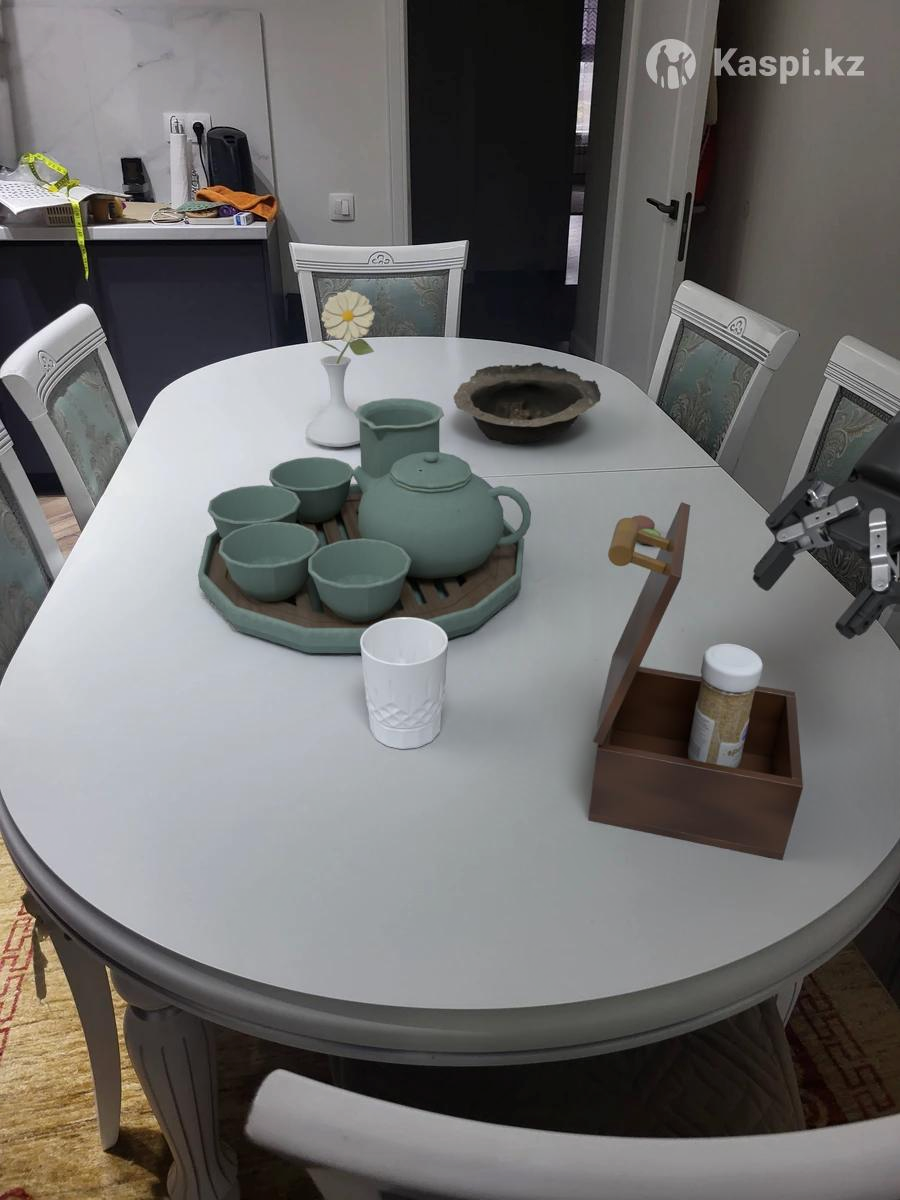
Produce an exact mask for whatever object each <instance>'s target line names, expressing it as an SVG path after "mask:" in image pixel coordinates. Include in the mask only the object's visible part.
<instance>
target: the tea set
mask: <svg viewBox="0 0 900 1200" xmlns="http://www.w3.org/2000/svg"><path fill="white" fill-rule="evenodd" d="M354 415H355V416H356V417H357V418H358V419H359V427H360V443H359V448H360V451H359V452H360V465H358V466H356V467H355V468H353V467H352V466H351V465H350V463H347V462H345V461H342V460H339V459H336V458H330V457H320V456H311V457H301V458H300V457H299V458H294V459H291V460H288V461H287V460H286V461H284V462H280V463H279V464H278V465H277V464H276V466H274V467H273V468H272V469H270V471H269V478H268V480H269V482H270V483H271V484H272V485H265V484H264V485H263V484H261V485H260V484H259V485H249V486H247V485H246V486H239V487H236V488H233V489H229V490H226V491H223V492H221V493H218V495H216V496H215V497H213V498H212V499H210V500H209V504H208V507H207V513H208V514H209V515H210V517H211V519H212V520H213V523H214V525H215V527H216V529H215V530H214V531H212V532H211V533H209V534H208V535H207V536H206V538H205V543H204V547H203V551H202V555H201V560H200V564H199V568H198V573H197V578H198V585H199V588H200V589H201V591H202V593H203V594H204V596H206V598H207V599H208V600H209V601H210V602H211V603H212V604H213V605H214V606H215V607H216V609H218V611H219V612H220V613H221V614H222V615H223V616H224V617H225V618H226V619H227V620H228V622H229V623H230V624H231V625H232V626H233V627H234V628H235V629H236V630H237V631H238V632H240V633H245V634H247V635H250V636H254V637H257V638H259V639H263V640H266V641H268V642H269V641H270V642H273V643H276V644H279V645H282V646H285V647H288V648H291V649H295V650H298V651H301V652H304V653H307V654H361V646H360V639H361V636H362V634H363V633H364V632H365V630H366V629H368V628H369V627H370V626H372V625H373V624H375V623H378V622H380V621H383V620H386V619H391V618H398V617H413V618H420V619H424V620H427V621H430V622H432V623H434V624H436V625H438V626H439V627H441V628H442V629H443V630H444V631H445V633H446V635H447V638H448V639H451V638H456V637H458V636H459V637H460V636H462V635H465V634H469V633H472V632H474V631H475V630H477V629H478V628H479V627H481V626H482V625H483V624H484V623H485V622H487V621H488V620H489V619H490V618H492V617H493V616H495V614H497V613H498V612H499V611H500V610H501V609H503V608H504V607H505V606H507V604H509V603H510V602H511V601H512V600H514V599H515V598H516V597H517V595H518V594H519V592H520V591H521V583H522V574H523V573H522V572H523V562H524V551H525V550H524V548H525V538H524V536H525V535H526V534H527V532H528V529H529V528H530V526H531V517H532V510H531V508H530V504H529V502H528V501H527V499H526V498H525V497H524V495H523V494H522V492H520V491H518V490H517V489H515V488H513V487H510V486H503V485H499V486H496V487H495V486H494V487H493V486H492V485H490V484H489V483H488V482H487V481H486V480H485V479H484V478H483V477H481V476H479V475H477V474H475V473H474V472H473V471H472V469H471V465H470V464H469V463H468V461H465V460H463V459H462V458H460V457H458V456H456V455H454V454H450V453H446V452H441V451H440V421H441V419H442V418H443V417H444V416H445V414H444V411H443V408H442V406H439V405H438V404H435V403H433V402H431V401H427V400H422V399H418V398H417V399H415V398H401V397H400V398H393V397H392V398H384V399H378V400H371V401H370V402H367V403H364V404H361V405H359V406H358V407H357V408H356V410H355V414H354ZM353 478H354V480H355V482H356V483H352V479H353ZM500 496H501V497H502V496H503V497H508V498H510V499H511V500H513V501H515V503H516V504H517V505H518V506H519V508H520V511H521V514H522V520H521V523H520V525H519V527H518V528H517V529H515V528H514V527H513V526H512V525H511V524H510V523H509V522H508V521H507V520H506V519H505V518H504V508H503V505H502V503H501V501H500V498H499V497H500Z"/></svg>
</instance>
